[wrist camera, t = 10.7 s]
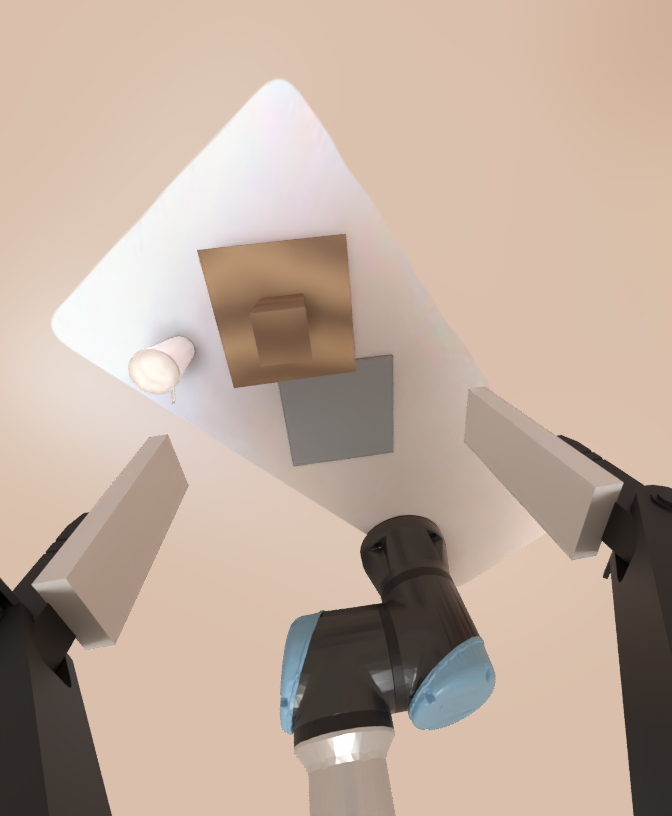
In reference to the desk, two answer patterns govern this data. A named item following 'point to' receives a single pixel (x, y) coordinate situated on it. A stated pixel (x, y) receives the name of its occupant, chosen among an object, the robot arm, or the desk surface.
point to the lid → (282, 308)
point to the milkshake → (161, 365)
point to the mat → (340, 413)
